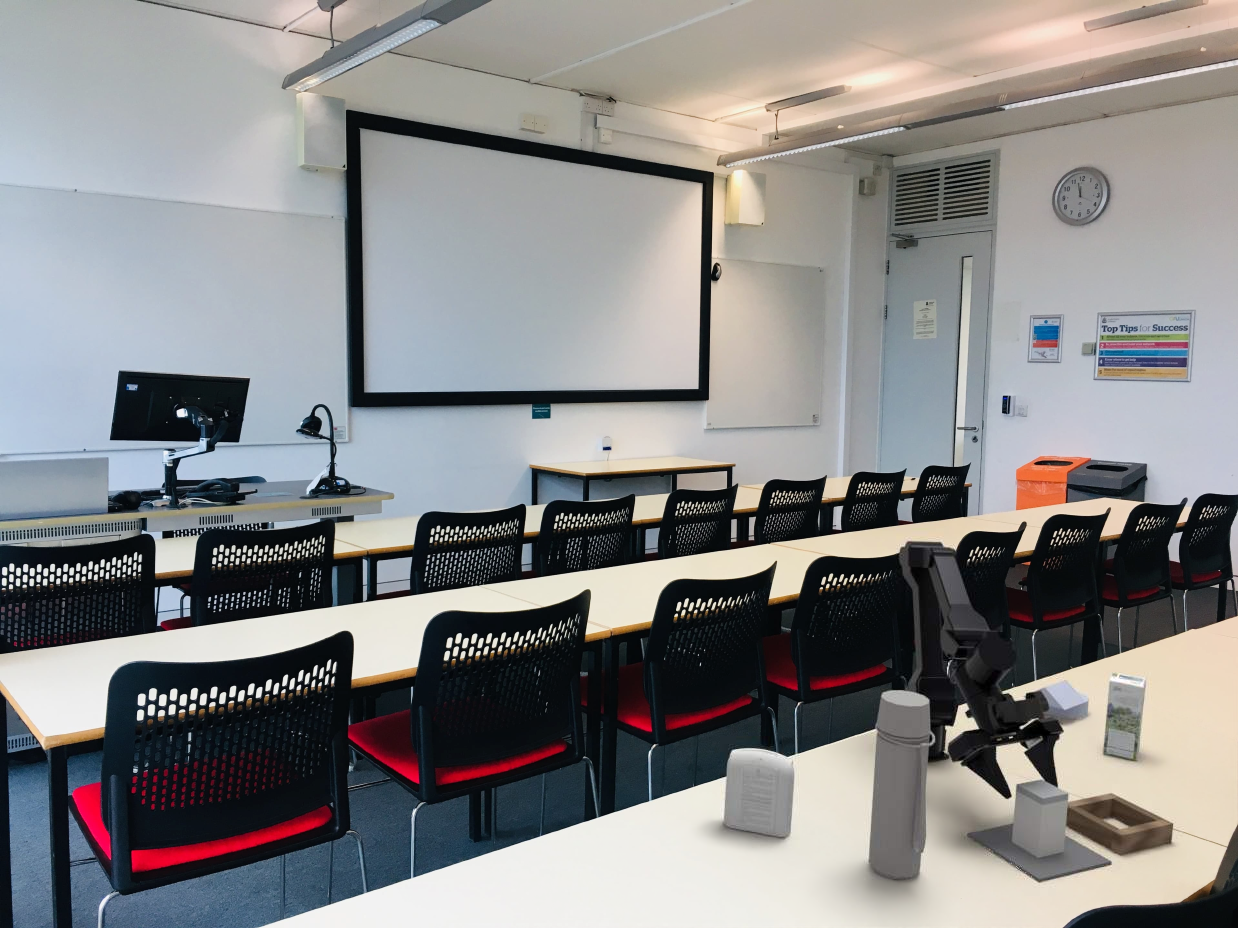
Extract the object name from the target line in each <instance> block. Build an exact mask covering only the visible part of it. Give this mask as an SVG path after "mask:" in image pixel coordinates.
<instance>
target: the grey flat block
mask: <svg viewBox="0 0 1238 928" xmlns="http://www.w3.org/2000/svg"><path fill="white" fill-rule="evenodd" d="M726 764H727V765H726V779H725V791H724V792H725V793H724V796H725V797H724V811H723V813H724V814H723V824H724V826H725V827H728V828H732V829H737V830H740V831H741V830H742V831H745V832H747V831H748V832H752V833H758V834H761V835H762V834H763V835H766V836H767V835H768V836H772V837H779V838H787V837H788V836H790V834H791V833H792V832H791V831H792V819H793V818H792V817H793V805H794V804H793V802H794V801H793V800H794V788H795V769H794V762H793V759H791V758H789V757H787V756H786V755H784V754H780V753H778V752H775V751H772V750H767V749H763V748H754V747H753V748H751V747H749V748H748V747H747V748H738V749H737V748H736V749H732V750H731V752H730V754H729V758H728V760H727V763H726Z"/></svg>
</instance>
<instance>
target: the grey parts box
mask: <svg viewBox="0 0 1238 928" xmlns="http://www.w3.org/2000/svg"><path fill="white" fill-rule="evenodd" d="M1015 785H1016V787H1015V788H1016V789H1015V796H1014V797H1015V799H1014V810H1013V811H1014V813H1013V822H1012V824H1013V834H1012V842H1013V843H1015V844H1016V845H1018V846H1019V847H1021V848H1023V849H1024V850H1026V851H1028V852H1029V853H1031V854H1033V855H1034V856H1036V857H1037V858H1040V857H1044V856H1048V855H1053V854H1057V853H1061V852H1064V841H1065V835H1066V828H1067V825H1066V818H1067V806H1068V802H1069V795H1070V794H1069V792H1066V791H1065V790H1063V789H1061V788H1059V787H1058V788H1057V787H1055V786H1053V785H1051V784H1049V783H1048V782H1046V781H1044V779H1043V778H1042V779H1037V780H1033V781H1026V782H1022V783H1017V784H1015Z"/></svg>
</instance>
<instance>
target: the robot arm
mask: <svg viewBox="0 0 1238 928" xmlns="http://www.w3.org/2000/svg"><path fill="white" fill-rule="evenodd" d="M898 559H899V560H898V561H899V564H900V565H901V566H902V567H901V568H902V569H901V570H902V576H903V578H904V579H905V580H906V582H907V583H908V585H909V586H910V588H911V589H912V604H913V622H914V623H913V624H914V643H915V644H914V645H915V661H916V662H915V663H916V667H915V668H916V669H915V671H914V672H913V674H912V676H911V678H910V679H909V681H908V683H907V691H909V692H915V693H918V694H921V695H924V696H925V697H926V698H928V699H929V704H930V731H931V732H932V733H933V734H934V735H935V742H934V743H933V745H932V746H929V750H928V763H929V762H935V761H940V760H947V759H949V758H950V760H951V761H952V763H958V762H959V763H960V766H961V767H967V768H968V770H970V771H972V772H973V773H974V774H975V775H977V776H978V777H979V778H981V779H982V780H984V782H986V783H987V784H988V785H989V786H990V787H992V788H993V789H994V790H995V791H996V792H997V793H998V794H1000V795H1001V796H1002V797H1003V798H1004V799H1006V800H1009V799H1010V798H1012V797H1013V794H1012V792H1011V789H1010V787H1009V784H1008V781H1007V780H1006V778H1005V775H1004V773H1003V771H1002V769H1001V766H1000V765H999V763H998V760H997V747H1001V746H1006V745H1007V746H1009V745H1015V744H1020V746H1022V747H1023V748H1025V749H1026V750H1025V751H1024V752H1023V753H1024V755H1025V757H1026V758H1027V759H1028V760H1029V762H1030V763H1031V765H1032V766H1033V767H1034V769H1035V770H1036V771H1037V772H1038V774H1039V775H1040V777H1041V778H1042V780H1044V781H1046V782H1048V783H1049V784H1051V785H1053V786H1055V787H1057V788H1059V783H1058V776H1057V771H1056V764H1055V757H1054V756H1055V755H1054V750H1055V745H1056V742H1057V741H1059V740H1060V738H1061V737H1060V735H1062V734H1064V733H1065V730H1064V729H1063V726H1062V724H1061V723H1060V721H1059V720H1058V719H1056V718H1055V717H1053V716H1048V717H1045V713H1046V712H1047V711H1048V710H1049V704H1048V701H1047V699H1046V697H1045V696H1044V694H1043V693H1042V691H1037V690H1035V691H1031V692H1026V693H1025V695H1026V698H1025V697H1024V698H1025V699H1018V700H1015V699H1014V696H1013V695H1012V694H1010V692H1008V693H1006V692H1005V693H1003V690H1002V689H1001V688H1000V685H999V683H1000V682H1001V681H1002V680H1003V679H1004V678H1005V676H1006V675H1007V674H1008V673H1009V671H1011V670H1012V668H1013V667H1014V666H1015V664H1016V661H1017V652H1016V650H1015V649H1014V648H1013V646H1012V645H1011V643H1009V642H1008V641H1007V640H1006V639H1004V638H1001V637H1000V636H999V631H997V630H990V628H989V626H988V624H987V622H986V620H985V618H984V617H983V616H982V615H981V614H979V612H977V611H976V610H975V609H974V608H973V606H972V605H971V601H970V598H969V595H968V593H967V589H966V587H965V584H964V581H963V577H962V575H961V571H960V568H959V565H958V554H957V551H956V549H955V548H953V547H950V546H949V547H947V546H944V544H943V543H942V542H941V541H924V540H922V541H920V540H916V541H915V540H907V541H906V542H905V545H904V546H901V547H900V549H899V553H898ZM941 613H942V616H943V621H944V623H943V626H942V619H941V617H942V616H941ZM943 653H944V654H945V656H946V657H947V658H948V659H949V658H950V659H952V660H953V659H954V660H964V661H962V662H961V663H959V664H958V665H955V666H952V667H951V668H952V670H951V675H950V676H949V675H948V673H947V671H946V670H945V668H944V657H943V655H944V654H943ZM956 686H957V688H958V689H959V692H960V693H961V695H962V698H963V700H964V702H965V704H966V706H967V708H968V709H967V710H966V711H965V712H964V713H965V716H966V718H967V719H974V722H975V723H976V726H977V728H976V729H971V730H964V731H962V732H961V733H960V734H959V735H957V736H956V737H955V738H953V739H951V740H950V742H948V743H947V744H948V745H947V753H946V752H945V751H946V739H947V729H946V727H954V726H955V722H956V718H957V714H958V710H959V704H960V701H959V699H958V697H957V694H956ZM1032 720H1033V721H1032ZM1023 726H1024V727H1023ZM1021 727H1022V728H1021ZM932 739H933V738H932V736H931V734H930V736H929V743H931V742H932Z"/></svg>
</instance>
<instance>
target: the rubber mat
mask: <svg viewBox="0 0 1238 928" xmlns="http://www.w3.org/2000/svg"><path fill="white" fill-rule="evenodd" d="M1012 834H1013V823H1009V824H1004V825H999V826H995V827H990V828H986V829H985V828H984V829H981V830H975V831H971V832H970V831H969V832H968V833H966V836H967V837H968V838H969V839H971V840H973V841H974V842H976V843H977V842H978V843H977V844H979V843H980V844H981V846H982V845H983V847H984V846H985V847H986V848H985V847H984V848H985V849H987V848H988V849H990V850H991V851H993V852H994V853H993V852H992V853H993V854H995V855H996V854H997V855H996V856H998V855H999V856H1001V857H1002V858H1004V859H1005V860H1004V859H1003V860H1004V861H1006V860H1007V861H1008V862H1007V861H1006V862H1007V863H1009V862H1010V863H1012V864H1013V865H1015V866H1017V867H1018V868H1019V869H1018V868H1017V867H1016V868H1017V869H1018V870H1020V869H1021V870H1022V871H1021V870H1020V871H1021V872H1023V871H1024V872H1026V873H1027V874H1026V873H1025V874H1026V875H1028V876H1029V875H1030V876H1029V877H1031V876H1032V877H1033V878H1032V877H1031V878H1032V879H1034V878H1035V879H1036V880H1035V879H1034V880H1035V881H1037V880H1038V881H1037V882H1039V881H1041V882H1045V881H1048V879H1049V880H1052V879H1051V878H1053V879H1056V877H1057V878H1061V877H1064V875H1065V876H1070V875H1073V874H1076V873H1077V874H1078V873H1081V872H1085V871H1088V870H1093V869H1097V868H1101V867H1104V866H1109V865H1112V860H1110V859H1109V858H1107V857H1104V856H1103V855H1101V854H1099V853H1098V852H1096V851H1094V850H1092V849H1090V848H1089V847H1087V846H1085V845H1083V844H1081V843H1080V842H1078V841H1076V840H1075V839H1073V838H1071V837H1069V836H1068V835H1066V834H1065V841H1064V852H1061V853H1057V854H1053V855H1048V856H1044V857H1040V858H1037V857H1036V856H1034V855H1033V854H1031V853H1029V852H1028V851H1026V850H1024V849H1023V848H1021V847H1019V846H1018V845H1016V844H1015V843H1013V842H1012ZM980 844H979V845H980ZM988 849H987V850H988ZM990 850H989V851H990ZM991 851H990V852H991ZM999 856H998V857H999ZM1001 857H1000V858H1001ZM1002 858H1001V859H1002ZM1010 863H1009V864H1010ZM1012 864H1011V865H1012ZM1013 865H1012V866H1013ZM1015 866H1014V867H1015ZM1024 872H1023V873H1024ZM1060 876H1061V877H1060ZM1044 880H1045V881H1044Z"/></svg>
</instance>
